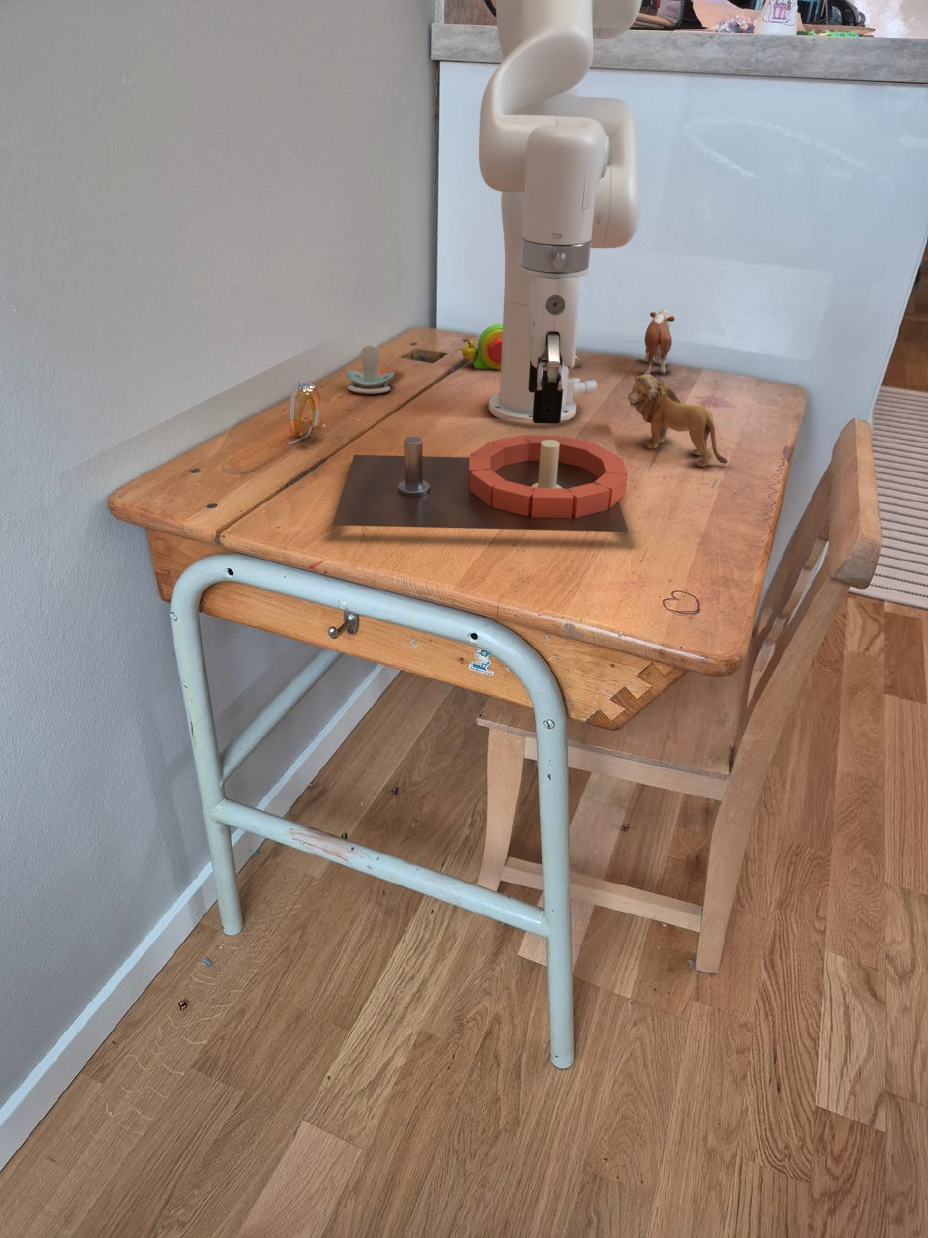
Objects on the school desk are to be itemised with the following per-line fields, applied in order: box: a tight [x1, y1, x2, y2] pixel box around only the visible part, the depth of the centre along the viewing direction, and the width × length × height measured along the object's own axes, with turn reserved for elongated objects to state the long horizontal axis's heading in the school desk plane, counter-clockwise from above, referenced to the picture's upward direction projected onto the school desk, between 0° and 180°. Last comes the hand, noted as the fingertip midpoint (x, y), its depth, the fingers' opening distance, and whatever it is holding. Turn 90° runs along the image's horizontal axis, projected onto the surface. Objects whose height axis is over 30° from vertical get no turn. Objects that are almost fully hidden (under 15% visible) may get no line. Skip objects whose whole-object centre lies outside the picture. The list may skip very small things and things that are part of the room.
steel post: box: [398, 436, 430, 497], centre depth 95 cm, size 4×4×6 cm
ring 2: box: [468, 434, 629, 518], centre depth 99 cm, size 18×18×2 cm
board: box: [332, 454, 629, 533], centre depth 98 cm, size 31×19×2 cm, turn 89°
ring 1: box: [289, 378, 322, 439], centre depth 111 cm, size 7×3×8 cm, turn 160°
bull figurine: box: [642, 309, 675, 375], centre depth 141 cm, size 4×13×8 cm, turn 167°
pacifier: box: [345, 345, 396, 395], centre depth 129 cm, size 7×6×6 cm
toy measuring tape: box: [461, 323, 580, 370], centre depth 140 cm, size 6×20×7 cm, turn 96°
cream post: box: [532, 440, 562, 489], centre depth 95 cm, size 4×4×6 cm
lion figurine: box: [627, 373, 728, 468], centre depth 110 cm, size 15×5×9 cm, turn 50°
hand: (543, 406), depth 103 cm, fingers open, 9 cm apart
